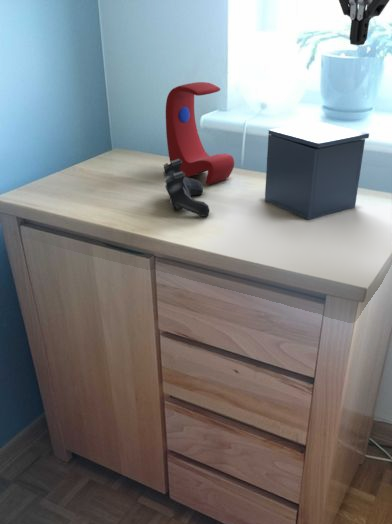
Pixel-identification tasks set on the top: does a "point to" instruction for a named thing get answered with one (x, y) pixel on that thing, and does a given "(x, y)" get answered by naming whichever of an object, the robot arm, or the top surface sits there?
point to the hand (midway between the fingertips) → (357, 44)
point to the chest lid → (318, 134)
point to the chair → (192, 135)
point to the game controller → (183, 189)
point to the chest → (312, 176)
